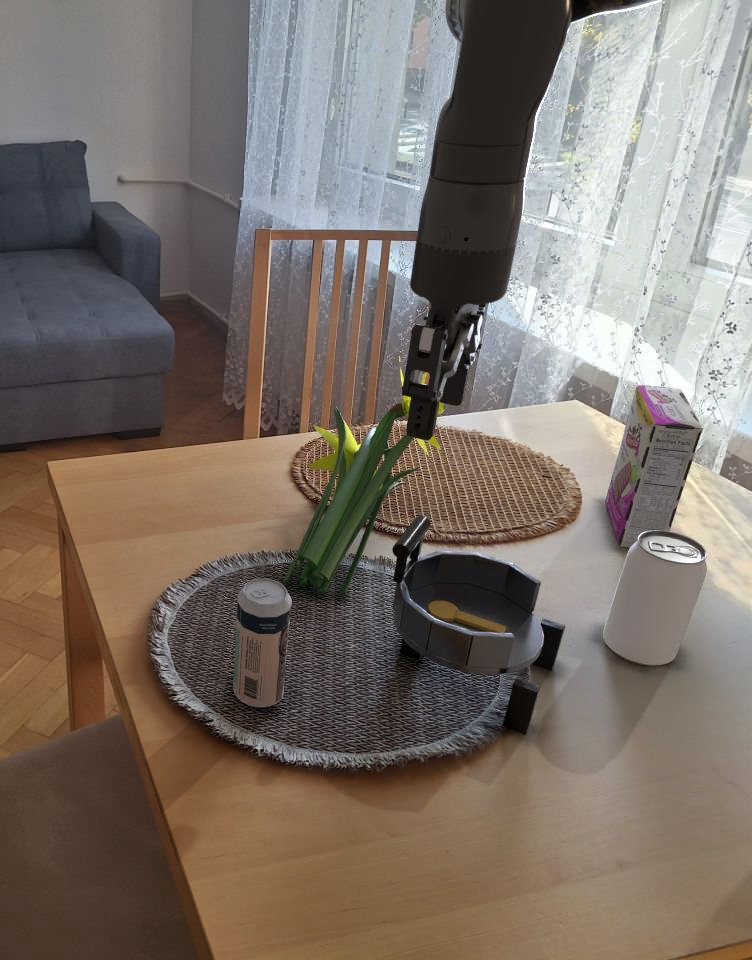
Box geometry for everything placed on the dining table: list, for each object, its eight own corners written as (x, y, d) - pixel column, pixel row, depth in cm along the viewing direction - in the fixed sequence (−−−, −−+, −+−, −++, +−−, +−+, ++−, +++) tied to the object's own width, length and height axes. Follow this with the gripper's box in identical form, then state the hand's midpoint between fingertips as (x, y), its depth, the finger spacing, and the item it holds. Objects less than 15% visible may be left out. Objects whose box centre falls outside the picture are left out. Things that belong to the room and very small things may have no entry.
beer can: (292, 704, 80) (302, 601, 74) (245, 716, 79) (251, 612, 73) (270, 671, 84) (277, 571, 78) (224, 682, 83) (229, 581, 77)
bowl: (557, 615, 82) (578, 538, 78) (522, 695, 73) (543, 613, 69) (415, 570, 90) (427, 497, 85) (367, 638, 80) (378, 560, 76)
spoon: (508, 625, 80) (509, 621, 80) (500, 641, 78) (500, 638, 78) (432, 600, 84) (433, 596, 84) (423, 615, 82) (424, 611, 82)
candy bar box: (601, 501, 110) (635, 383, 102) (645, 507, 108) (683, 387, 100) (615, 548, 101) (653, 422, 93) (663, 555, 99) (707, 427, 91)
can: (681, 674, 82) (720, 571, 76) (605, 660, 84) (637, 558, 78) (668, 633, 87) (704, 533, 81) (597, 620, 89) (627, 523, 83)
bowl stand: (554, 665, 84) (565, 625, 81) (525, 735, 76) (537, 692, 74) (421, 619, 90) (428, 580, 88) (383, 678, 83) (389, 638, 80)
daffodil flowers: (219, 572, 101) (324, 396, 121) (322, 645, 100) (410, 456, 120) (287, 504, 87) (393, 319, 107) (407, 589, 86) (490, 386, 106)
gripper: (491, 262, 62) (453, 461, 69) (537, 222, 72) (500, 401, 79) (388, 249, 66) (364, 439, 73) (446, 213, 76) (419, 384, 83)
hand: (435, 419), depth 76 cm, fingers open, 8 cm apart
